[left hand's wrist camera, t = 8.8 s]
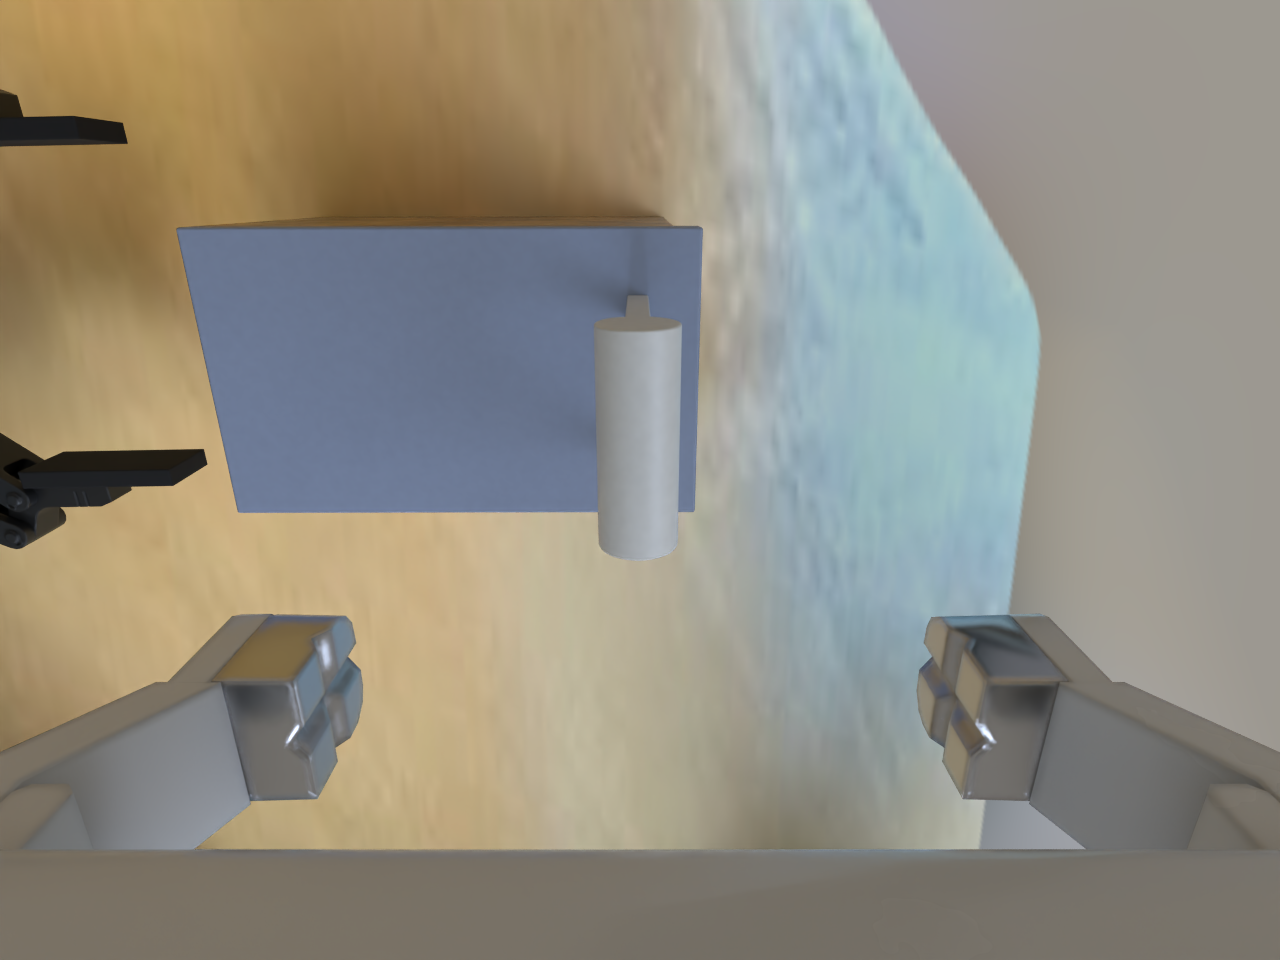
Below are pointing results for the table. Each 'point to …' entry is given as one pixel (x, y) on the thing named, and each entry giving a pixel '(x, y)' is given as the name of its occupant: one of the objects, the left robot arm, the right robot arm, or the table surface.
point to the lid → (456, 369)
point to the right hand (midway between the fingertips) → (150, 312)
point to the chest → (464, 221)
